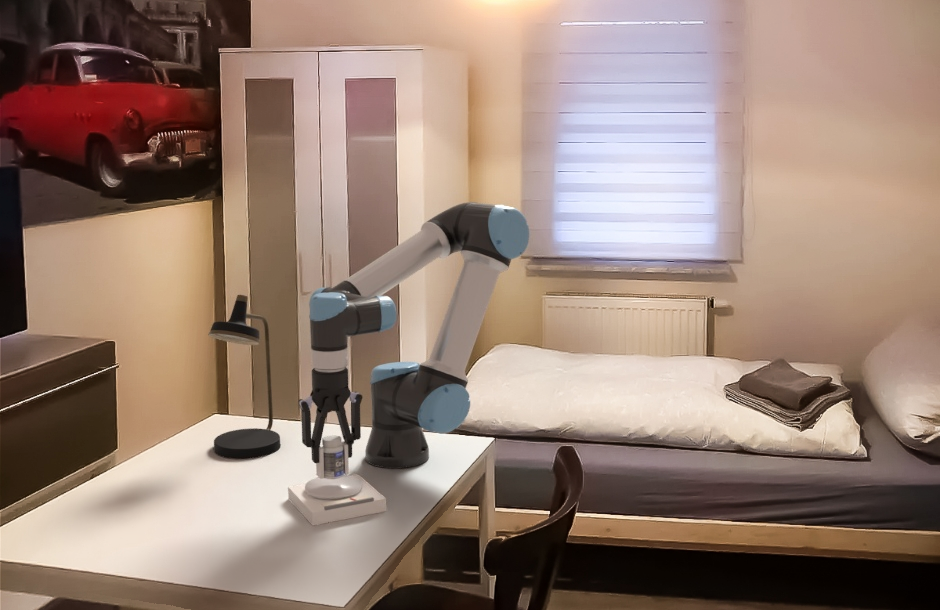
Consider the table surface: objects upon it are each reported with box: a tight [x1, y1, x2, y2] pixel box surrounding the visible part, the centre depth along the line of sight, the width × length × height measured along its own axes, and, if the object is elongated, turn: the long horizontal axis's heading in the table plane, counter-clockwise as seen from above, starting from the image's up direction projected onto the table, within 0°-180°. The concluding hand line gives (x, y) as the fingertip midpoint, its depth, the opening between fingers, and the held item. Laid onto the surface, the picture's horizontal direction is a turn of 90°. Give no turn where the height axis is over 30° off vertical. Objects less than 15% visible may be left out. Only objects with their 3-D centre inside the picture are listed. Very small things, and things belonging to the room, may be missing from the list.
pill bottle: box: [321, 434, 345, 479], centre depth 219 cm, size 5×5×8 cm
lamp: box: [208, 294, 282, 460], centre depth 254 cm, size 16×22×38 cm
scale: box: [287, 473, 387, 526], centre depth 220 cm, size 16×16×4 cm
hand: (332, 474), depth 220 cm, fingers closed on pill bottle, 5 cm apart
